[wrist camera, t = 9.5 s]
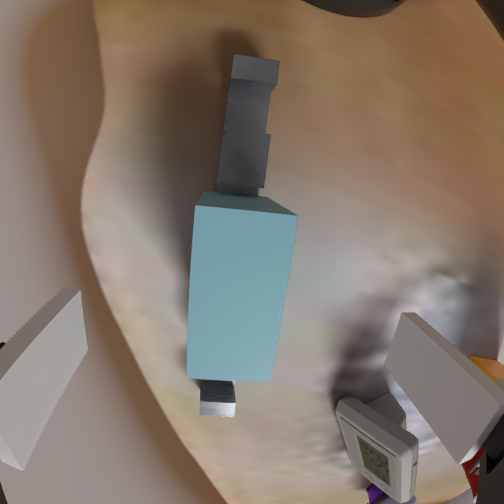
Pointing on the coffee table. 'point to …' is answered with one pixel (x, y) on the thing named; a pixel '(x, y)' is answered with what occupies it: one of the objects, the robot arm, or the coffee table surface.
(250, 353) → the block
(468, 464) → the plastic cup
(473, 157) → the coffee table surface
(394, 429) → the digital clock
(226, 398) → the rail
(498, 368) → the orange juice
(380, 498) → the potion bottle
